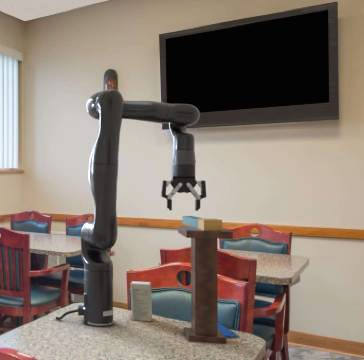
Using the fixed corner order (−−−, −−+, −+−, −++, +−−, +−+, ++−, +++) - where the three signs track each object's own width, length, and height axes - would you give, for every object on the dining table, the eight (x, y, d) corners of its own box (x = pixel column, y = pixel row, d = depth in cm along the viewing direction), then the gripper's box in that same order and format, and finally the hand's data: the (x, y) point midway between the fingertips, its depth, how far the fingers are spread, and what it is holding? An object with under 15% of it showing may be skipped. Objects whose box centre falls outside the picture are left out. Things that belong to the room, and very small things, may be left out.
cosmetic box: (152, 318, 164) (152, 282, 164) (151, 322, 160) (151, 284, 160) (132, 316, 166) (132, 280, 166) (130, 319, 162) (130, 282, 162)
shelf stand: (186, 344, 138) (186, 230, 138) (178, 329, 152) (178, 226, 152) (233, 347, 136) (232, 231, 136) (220, 331, 149) (219, 226, 149)
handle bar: (203, 230, 139) (203, 219, 139) (179, 223, 161) (179, 214, 161) (222, 230, 138) (222, 220, 138) (194, 223, 161) (194, 214, 161)
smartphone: (212, 336, 144) (194, 320, 159) (212, 339, 145) (194, 323, 159) (238, 336, 144) (217, 320, 159) (238, 339, 144) (217, 323, 159)
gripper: (203, 163, 172) (203, 210, 172) (160, 164, 175) (160, 209, 175) (208, 163, 164) (208, 211, 164) (163, 163, 168) (162, 210, 168)
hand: (183, 210), depth 170 cm, fingers open, 8 cm apart
